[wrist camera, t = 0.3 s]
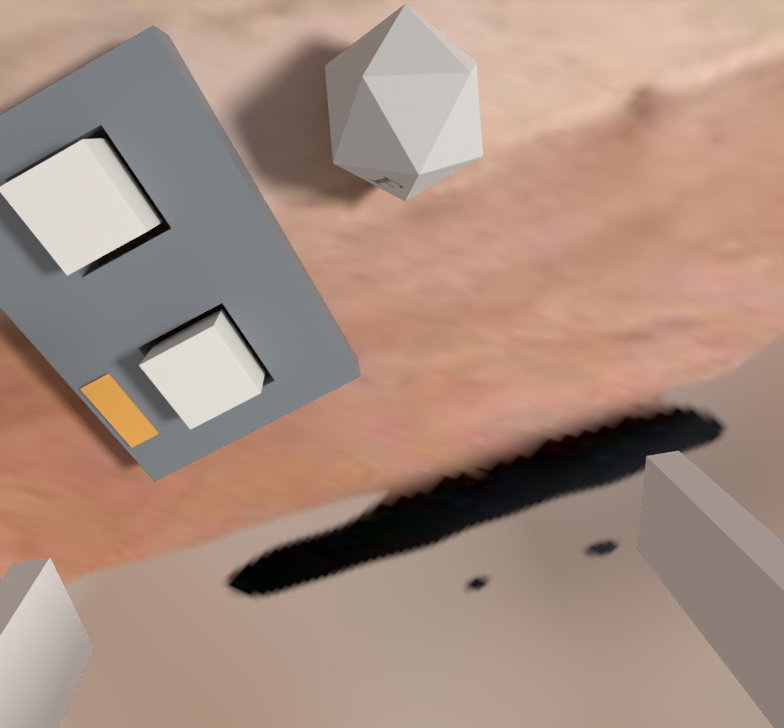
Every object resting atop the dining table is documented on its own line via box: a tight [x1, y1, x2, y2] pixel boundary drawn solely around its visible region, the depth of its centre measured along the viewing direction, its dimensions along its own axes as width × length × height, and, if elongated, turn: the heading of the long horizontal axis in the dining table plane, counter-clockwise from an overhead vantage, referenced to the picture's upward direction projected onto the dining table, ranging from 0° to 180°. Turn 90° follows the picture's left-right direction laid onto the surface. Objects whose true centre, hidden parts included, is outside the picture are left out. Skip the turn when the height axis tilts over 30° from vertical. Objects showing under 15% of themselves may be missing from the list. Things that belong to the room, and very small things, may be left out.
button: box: [0, 138, 163, 276], centre depth 29 cm, size 5×5×3 cm
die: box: [325, 4, 483, 201], centre depth 29 cm, size 8×9×10 cm
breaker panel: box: [0, 26, 360, 482], centre depth 33 cm, size 22×16×3 cm
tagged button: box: [139, 309, 265, 430], centre depth 33 cm, size 5×5×3 cm
